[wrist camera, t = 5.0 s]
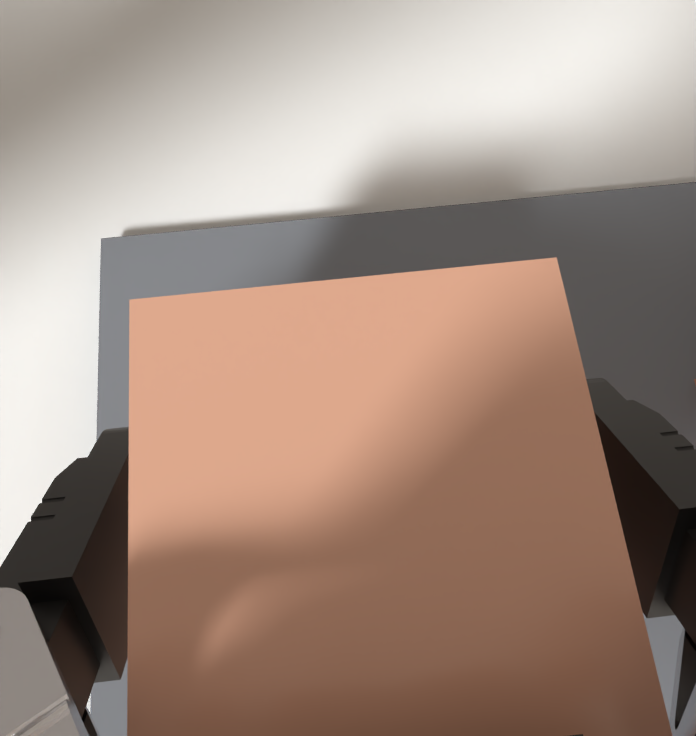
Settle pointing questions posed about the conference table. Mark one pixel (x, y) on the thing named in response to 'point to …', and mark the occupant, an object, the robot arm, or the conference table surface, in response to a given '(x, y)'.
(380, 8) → the conference table surface
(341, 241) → the mat
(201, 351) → the peach square prism
